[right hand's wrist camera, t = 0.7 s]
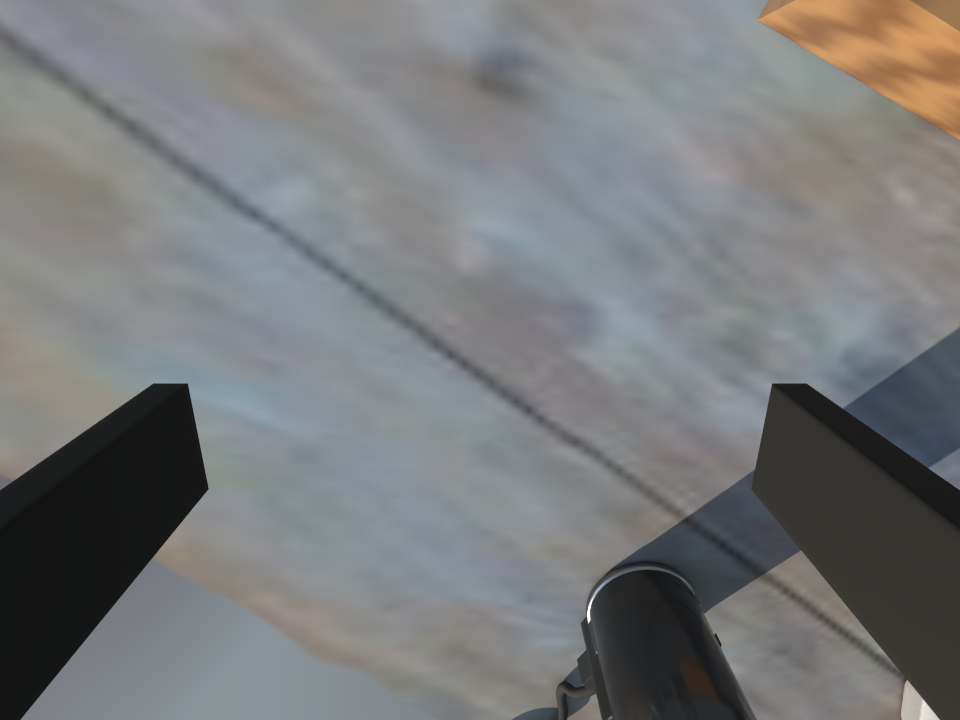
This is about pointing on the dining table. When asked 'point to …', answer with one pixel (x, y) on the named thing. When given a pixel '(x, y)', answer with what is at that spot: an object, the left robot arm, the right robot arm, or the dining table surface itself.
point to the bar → (884, 47)
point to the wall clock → (915, 706)
